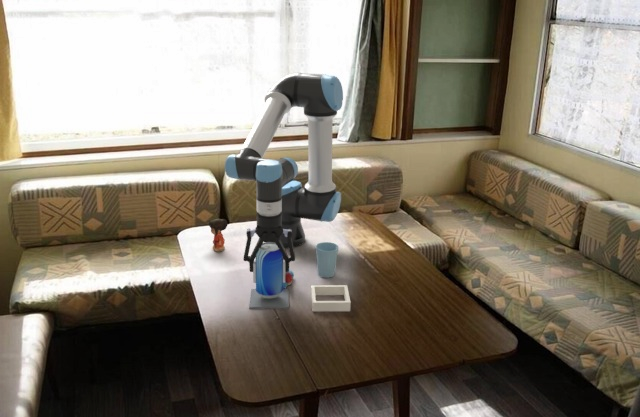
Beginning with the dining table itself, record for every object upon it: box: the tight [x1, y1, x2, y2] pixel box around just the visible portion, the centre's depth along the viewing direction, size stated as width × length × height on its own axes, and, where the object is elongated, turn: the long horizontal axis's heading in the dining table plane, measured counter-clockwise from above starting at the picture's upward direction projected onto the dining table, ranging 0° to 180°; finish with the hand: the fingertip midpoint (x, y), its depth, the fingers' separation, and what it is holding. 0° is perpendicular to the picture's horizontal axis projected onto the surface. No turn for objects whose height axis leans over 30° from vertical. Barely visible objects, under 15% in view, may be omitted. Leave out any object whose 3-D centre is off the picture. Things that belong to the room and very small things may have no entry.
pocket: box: [310, 284, 352, 312], centre depth 194 cm, size 12×12×3 cm
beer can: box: [255, 242, 283, 298], centre depth 191 cm, size 8×8×16 cm
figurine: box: [208, 218, 228, 253], centre depth 229 cm, size 6×6×12 cm
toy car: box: [283, 258, 295, 289], centre depth 204 cm, size 9×9×10 cm
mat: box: [249, 288, 290, 310], centre depth 195 cm, size 12×12×1 cm
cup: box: [315, 241, 339, 279], centre depth 211 cm, size 8×8×10 cm
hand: (269, 280), depth 193 cm, fingers closed on beer can, 8 cm apart
